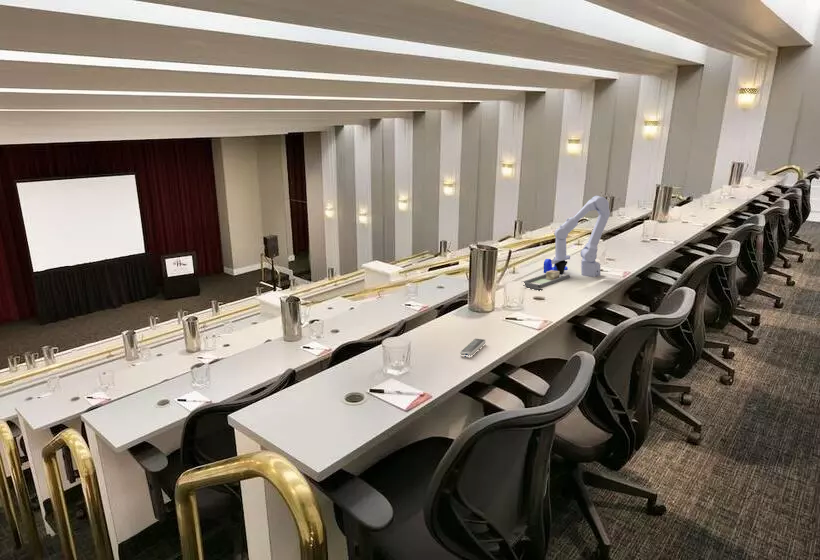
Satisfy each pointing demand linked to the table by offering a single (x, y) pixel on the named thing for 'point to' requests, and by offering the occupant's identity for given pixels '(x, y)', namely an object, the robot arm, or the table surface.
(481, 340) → the multiport hub
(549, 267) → the bracket
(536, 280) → the box
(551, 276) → the block
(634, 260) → the table surface
